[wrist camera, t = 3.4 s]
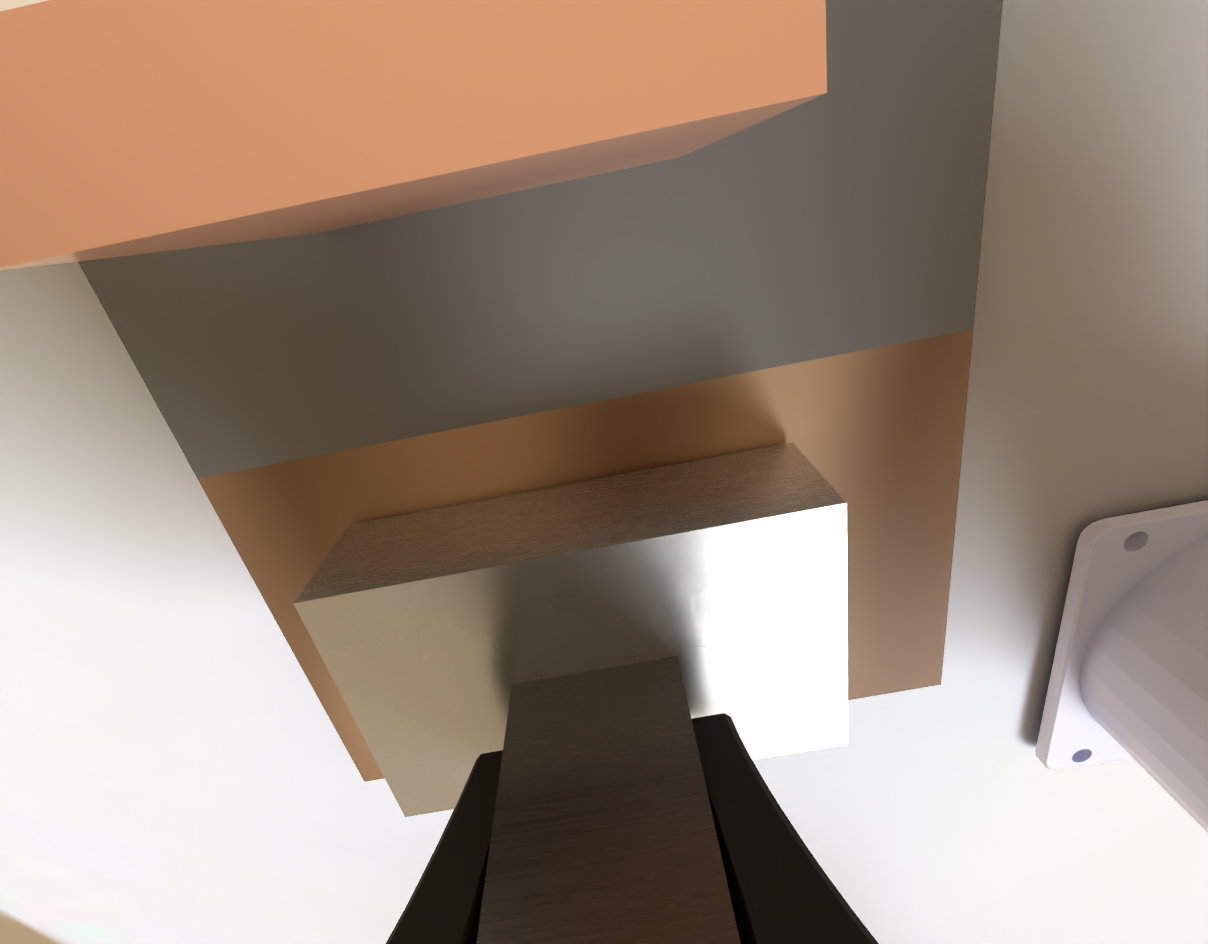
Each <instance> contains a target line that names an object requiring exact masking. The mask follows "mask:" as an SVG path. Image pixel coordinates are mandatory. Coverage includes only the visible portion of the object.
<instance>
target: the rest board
mask: <svg viewBox="0 0 1208 944" xmlns="http://www.w3.org/2000/svg"><path fill="white" fill-rule="evenodd" d="M972 334H973V329H970V330H965V331H960V332H954V333H949V334H944V335H939V336H934V337H929V338H923V339H918V340H913V341H908V342H903V343H898V344H892V345H887V346H882V347H877V348H872V349H866V350H861V351H856V352H851V353H846V354H841V355H835V356H830V357H825V358H820V359H815V360H809V361H804V362H799V363H794V364H789V365H784V366H778V367H773V368H768V369H763V370H758V371H752V372H747V373H742V374H737V375H732V376H727V377H721V378H716V379H711V380H706V381H701V382H696V383H690V384H685V385H680V386H675V387H670V388H664V389H659V390H654V391H649V392H644V393H639V394H633V395H628V396H623V397H618V398H613V399H607V400H602V401H597V402H592V403H587V404H582V405H576V406H571V407H566V408H561V409H556V410H550V411H545V412H540V413H535V414H530V415H525V416H519V417H514V418H509V419H504V420H499V421H494V422H488V423H483V424H478V425H473V426H468V427H462V428H457V429H452V430H447V431H442V432H437V433H431V434H426V435H421V436H416V437H411V438H405V439H400V440H395V441H390V442H385V443H380V444H374V445H369V446H364V447H359V448H354V449H348V450H343V451H338V452H333V453H328V454H323V455H317V456H312V457H307V458H302V459H297V460H292V461H286V462H281V463H276V464H271V465H266V466H260V467H255V468H250V469H245V470H240V471H235V472H229V473H224V474H219V475H214V476H209V477H203V478H198V480H199V482H200V484H201V486H202V487H203V489H204V491H205V493H206V495H207V496H208V498H209V500H210V502H211V504H212V506H213V507H214V509H215V511H216V513H217V515H218V516H219V518H220V520H221V522H222V524H223V525H224V527H225V529H226V531H227V533H228V535H229V536H230V538H231V540H232V542H233V544H234V545H235V547H236V549H237V551H238V553H239V555H240V556H241V558H242V560H243V562H244V564H245V565H246V567H247V569H248V571H249V573H250V575H251V576H252V578H253V580H254V582H255V584H256V585H257V587H258V589H259V591H260V593H261V594H262V596H263V598H264V600H265V602H266V604H267V605H268V607H269V609H270V611H271V613H272V614H273V616H274V618H275V620H276V622H277V624H278V625H279V627H280V629H281V631H282V633H283V634H284V636H285V638H286V640H287V642H288V643H289V645H290V647H291V649H292V651H293V653H294V654H295V656H296V658H297V660H298V662H299V663H300V665H301V667H302V669H303V671H304V673H305V674H306V676H307V678H308V680H309V682H310V683H311V685H312V687H313V689H314V691H315V692H316V694H317V696H318V698H319V700H320V702H321V703H322V705H323V707H324V709H325V711H326V712H327V714H328V716H329V718H330V720H331V722H332V723H333V725H334V727H335V729H336V731H337V732H338V734H339V736H340V738H341V740H342V741H343V743H344V745H345V747H346V749H347V751H348V752H349V754H350V756H351V758H352V760H353V761H354V763H355V765H356V767H357V769H358V771H359V772H360V774H361V776H362V778H363V780H364V781H371V780H377V779H383V778H385V777H384V775H383V773H382V771H381V770H380V768H379V766H378V764H377V762H376V760H375V758H374V756H373V754H372V752H371V751H370V749H369V747H368V745H367V743H366V741H365V739H364V737H363V735H362V733H361V731H360V730H359V728H358V726H357V724H356V722H355V720H354V718H353V716H352V714H351V712H350V711H349V709H348V707H347V705H346V703H345V701H344V699H343V697H342V695H341V693H340V692H339V690H338V688H337V686H336V684H335V682H334V680H333V678H332V676H331V674H330V672H329V671H328V669H327V667H326V665H325V663H324V661H323V659H322V657H321V655H320V653H319V652H318V650H317V648H316V646H315V644H314V642H313V640H312V638H311V636H310V634H309V633H308V631H307V629H306V627H305V625H304V623H303V621H302V619H301V617H300V615H299V613H298V612H297V610H296V608H295V606H294V604H293V603H294V602H295V600H296V599H297V597H298V596H299V595H300V593H301V592H302V590H303V589H304V588H305V586H306V585H307V583H308V582H309V581H310V579H311V578H312V576H313V575H314V574H315V572H316V571H317V569H318V568H319V566H320V565H321V564H322V562H323V561H324V559H325V558H326V557H327V555H328V554H329V552H330V551H331V550H332V548H333V547H334V545H335V544H336V543H337V541H338V540H339V538H340V537H341V536H342V534H343V533H344V531H345V530H346V528H347V527H348V526H349V525H353V524H358V523H363V522H369V521H374V520H379V519H385V518H390V517H395V516H401V515H406V514H411V513H417V512H422V511H428V510H433V509H438V508H444V507H449V506H454V505H460V504H465V503H470V502H476V501H481V500H486V499H492V498H497V497H502V496H508V495H513V494H519V493H524V492H529V491H535V490H540V489H545V488H551V487H556V486H561V485H567V484H572V483H577V482H583V481H588V480H593V479H599V478H604V477H610V476H615V475H620V474H626V473H631V472H636V471H642V470H647V469H652V468H658V467H663V466H668V465H674V464H679V463H684V462H690V461H695V460H701V459H706V458H711V457H717V456H722V455H727V454H733V453H738V452H743V451H749V450H754V449H759V448H765V447H770V446H775V445H781V444H786V443H792V442H793V443H794V444H795V446H796V447H797V448H798V449H799V450H800V451H801V452H802V453H803V455H804V456H805V457H806V458H807V459H808V460H809V461H810V462H811V463H812V465H813V466H814V467H815V468H816V469H817V470H818V471H819V472H820V474H821V475H822V476H823V477H824V478H825V479H826V480H827V481H828V483H829V484H830V485H831V486H832V487H833V488H834V489H835V490H836V491H837V493H838V494H839V495H840V496H841V497H842V498H843V499H844V500H845V502H846V503H847V651H848V700H851V699H857V698H863V697H869V696H875V695H881V694H887V693H893V692H899V691H905V690H910V689H916V688H922V687H928V686H934V685H940V684H941V677H942V666H943V655H944V644H945V633H946V622H947V611H948V600H949V588H950V577H951V566H952V555H953V544H954V533H955V522H956V511H957V500H958V489H959V478H960V467H961V456H962V445H963V434H964V423H965V412H966V401H967V389H968V378H969V367H970V356H971V345H972Z"/></svg>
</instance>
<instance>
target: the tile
mask: <svg viewBox="0 0 1208 944" xmlns="http://www.w3.org/2000/svg"><path fill="white" fill-rule="evenodd" d="M826 93H827V63H826V0H0V271H2V270H11V269H19V268H27V267H36V266H44V265H53V264H61V263H69V262H78V261H86V260H95V259H103V258H111V257H120V256H128V255H137V254H145V253H153V252H162V251H170V250H179V249H187V248H195V247H204V246H212V245H221V244H229V243H238V242H246V241H254V240H263V239H271V238H280V237H288V236H296V235H305V234H313V233H320V232H325V231H330V230H335V229H340V228H344V227H349V226H354V225H359V224H363V223H368V222H373V221H378V220H383V219H387V218H392V217H397V216H402V215H406V214H411V213H416V212H421V211H426V210H430V209H435V208H440V207H445V206H449V205H454V204H459V203H464V202H469V201H473V200H478V199H483V198H488V197H492V196H497V195H502V194H507V193H511V192H516V191H521V190H526V189H531V188H535V187H540V186H545V185H550V184H554V183H559V182H564V181H569V180H574V179H578V178H583V177H588V176H593V175H597V174H602V173H607V172H612V171H617V170H621V169H626V168H631V167H636V166H640V165H645V164H650V163H655V162H660V161H664V160H669V159H674V158H679V157H681V156H684V155H686V154H688V153H690V152H693V151H695V150H697V149H700V148H702V147H704V146H706V145H709V144H711V143H713V142H716V141H718V140H720V139H723V138H725V137H727V136H729V135H732V134H734V133H736V132H739V131H741V130H743V129H745V128H748V127H750V126H752V125H755V124H757V123H759V122H761V121H764V120H766V119H768V118H771V117H773V116H775V115H777V114H780V113H782V112H784V111H787V110H789V109H791V108H793V107H796V106H798V105H800V104H803V103H805V102H807V101H809V100H812V99H814V98H816V97H819V96H821V95H823V94H826Z"/></svg>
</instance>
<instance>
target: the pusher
mask: <svg viewBox="0 0 1208 944" xmlns="http://www.w3.org/2000/svg"><path fill="white" fill-rule="evenodd" d="M293 604H294V606H295V608H296V610H297V612H298V613H299V615H300V617H301V619H302V621H303V623H304V625H305V627H306V629H307V631H308V633H309V634H310V636H311V638H312V640H313V642H314V644H315V646H316V648H317V650H318V652H319V653H320V655H321V657H322V659H323V661H324V663H325V665H326V667H327V669H328V671H329V672H330V674H331V676H332V678H333V680H334V682H335V684H336V686H337V688H338V690H339V692H340V693H341V695H342V697H343V699H344V701H345V703H346V705H347V707H348V709H349V711H350V712H351V714H352V716H353V718H354V720H355V722H356V724H357V726H358V728H359V730H360V731H361V733H362V735H363V737H364V739H365V741H366V743H367V745H368V747H369V749H370V751H371V752H372V754H373V756H374V758H375V760H376V762H377V764H378V766H379V768H380V770H381V771H382V773H383V775H384V777H385V779H386V781H387V783H388V785H389V787H390V789H391V791H392V792H393V794H394V796H395V798H396V800H397V802H398V804H399V806H400V808H401V810H402V811H403V813H404V815H405V817H407V816H414V815H420V814H426V813H432V812H438V811H444V810H450V809H455V807H456V804H457V802H458V800H459V798H460V796H461V793H462V791H463V789H464V787H465V784H466V782H467V780H468V777H469V775H470V773H471V771H472V768H473V766H474V764H475V761H476V759H477V758H478V757H479V756H480V754H483V753H489V752H495V751H501V750H503V753H502V761H501V768H500V775H499V783H498V790H497V797H496V804H495V812H494V819H493V826H492V834H491V841H490V848H489V855H488V863H487V870H486V877H485V884H484V892H483V899H482V906H481V914H480V921H479V928H478V935H477V943H476V944H741V943H740V939H739V934H738V930H737V925H736V920H735V916H734V911H733V907H732V902H731V898H730V893H729V889H728V884H727V879H726V875H725V870H724V866H723V861H722V857H721V852H720V847H719V843H718V838H717V834H716V829H715V825H714V820H713V815H712V811H711V806H710V802H709V797H708V793H707V788H706V783H705V779H704V774H703V770H702V765H701V761H700V756H699V752H698V747H697V742H696V738H695V733H694V729H693V724H692V720H691V719H692V718H698V717H704V716H710V715H716V714H722V713H725V714H727V715H729V716H730V717H731V718H732V720H733V723H734V725H735V727H736V730H737V732H738V734H739V736H740V738H741V740H742V742H743V744H744V746H745V748H746V750H747V752H748V754H749V755H750V757H751V759H752V760H756V759H762V758H768V757H774V756H780V755H786V754H792V753H798V752H804V751H811V750H817V749H823V748H829V747H835V746H841V745H847V744H848V651H847V503H846V502H845V500H844V499H843V498H842V497H841V496H840V495H839V494H838V493H837V491H836V490H835V489H834V488H833V487H832V486H831V485H830V484H829V483H828V481H827V480H826V479H825V478H824V477H823V476H822V475H821V474H820V472H819V471H818V470H817V469H816V468H815V467H814V466H813V465H812V463H811V462H810V461H809V460H808V459H807V458H806V457H805V456H804V455H803V453H802V452H801V451H800V450H799V449H798V448H797V447H796V446H795V444H794V443H793V442H792V443H786V444H781V445H775V446H770V447H765V448H759V449H754V450H749V451H743V452H738V453H733V454H727V455H722V456H717V457H711V458H706V459H701V460H695V461H690V462H684V463H679V464H674V465H668V466H663V467H658V468H652V469H647V470H642V471H636V472H631V473H626V474H620V475H615V476H610V477H604V478H599V479H593V480H588V481H583V482H577V483H572V484H567V485H561V486H556V487H551V488H545V489H540V490H535V491H529V492H524V493H519V494H513V495H508V496H502V497H497V498H492V499H486V500H481V501H476V502H470V503H465V504H460V505H454V506H449V507H444V508H438V509H433V510H428V511H422V512H417V513H411V514H406V515H401V516H395V517H390V518H385V519H379V520H374V521H369V522H363V523H358V524H353V525H349V526H348V527H347V528H346V530H345V531H344V533H343V534H342V536H341V537H340V538H339V540H338V541H337V543H336V544H335V545H334V547H333V548H332V550H331V551H330V552H329V554H328V555H327V557H326V558H325V559H324V561H323V562H322V564H321V565H320V566H319V568H318V569H317V571H316V572H315V574H314V575H313V576H312V578H311V579H310V581H309V582H308V583H307V585H306V586H305V588H304V589H303V590H302V592H301V593H300V595H299V596H298V597H297V599H296V600H295V602H294V603H293Z"/></svg>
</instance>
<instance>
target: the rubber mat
mask: <svg viewBox="0 0 1208 944" xmlns="http://www.w3.org/2000/svg"><path fill="white" fill-rule="evenodd" d="M1002 2H1003V0H826V63H827V93H826V94H823V95H821V96H819V97H816V98H814V99H812V100H809V101H807V102H805V103H803V104H800V105H798V106H796V107H793V108H791V109H789V110H787V111H784V112H782V113H780V114H777V115H775V116H773V117H771V118H768V119H766V120H764V121H761V122H759V123H757V124H755V125H752V126H750V127H748V128H745V129H743V130H741V131H739V132H736V133H734V134H732V135H729V136H727V137H725V138H723V139H720V140H718V141H716V142H713V143H711V144H709V145H706V146H704V147H702V148H700V149H697V150H695V151H693V152H690V153H688V154H686V155H684V156H681V157H679V158H674V159H669V160H664V161H660V162H655V163H650V164H645V165H640V166H636V167H631V168H626V169H621V170H617V171H612V172H607V173H602V174H597V175H593V176H588V177H583V178H578V179H574V180H569V181H564V182H559V183H554V184H550V185H545V186H540V187H535V188H531V189H526V190H521V191H516V192H511V193H507V194H502V195H497V196H492V197H488V198H483V199H478V200H473V201H469V202H464V203H459V204H454V205H449V206H445V207H440V208H435V209H430V210H426V211H421V212H416V213H411V214H406V215H402V216H397V217H392V218H387V219H383V220H378V221H373V222H368V223H363V224H359V225H354V226H349V227H344V228H340V229H335V230H330V231H325V232H320V233H313V234H305V235H296V236H288V237H280V238H271V239H263V240H254V241H246V242H238V243H229V244H221V245H212V246H204V247H195V248H187V249H179V250H170V251H162V252H153V253H145V254H137V255H128V256H120V257H111V258H103V259H95V260H86V261H78V262H79V264H80V266H81V268H82V270H83V271H84V273H85V275H86V277H87V279H88V280H89V282H90V284H91V286H92V288H93V290H94V291H95V293H96V295H97V297H98V299H99V300H100V302H101V304H102V306H103V308H104V309H105V311H106V313H107V315H108V317H109V319H110V320H111V322H112V324H113V326H114V328H115V329H116V331H117V333H118V335H119V337H120V339H121V340H122V342H123V344H124V346H125V348H126V349H127V351H128V353H129V355H130V357H131V359H132V360H133V362H134V364H135V366H136V368H137V369H138V371H139V373H140V375H141V377H142V378H143V380H144V382H145V384H146V386H147V388H148V389H149V391H150V393H151V395H152V397H153V398H154V400H155V402H156V404H157V406H158V408H159V409H160V411H161V413H162V415H163V417H164V418H165V420H166V422H167V424H168V426H169V427H170V429H171V431H172V433H173V435H174V437H175V438H176V440H177V442H178V444H179V446H180V447H181V449H182V451H183V453H184V455H185V457H186V458H187V460H188V462H189V464H190V466H191V467H192V469H193V471H194V473H195V475H196V476H197V478H203V477H209V476H214V475H219V474H224V473H229V472H235V471H240V470H245V469H250V468H255V467H260V466H266V465H271V464H276V463H281V462H286V461H292V460H297V459H302V458H307V457H312V456H317V455H323V454H328V453H333V452H338V451H343V450H348V449H354V448H359V447H364V446H369V445H374V444H380V443H385V442H390V441H395V440H400V439H405V438H411V437H416V436H421V435H426V434H431V433H437V432H442V431H447V430H452V429H457V428H462V427H468V426H473V425H478V424H483V423H488V422H494V421H499V420H504V419H509V418H514V417H519V416H525V415H530V414H535V413H540V412H545V411H550V410H556V409H561V408H566V407H571V406H576V405H582V404H587V403H592V402H597V401H602V400H607V399H613V398H618V397H623V396H628V395H633V394H639V393H644V392H649V391H654V390H659V389H664V388H670V387H675V386H680V385H685V384H690V383H696V382H701V381H706V380H711V379H716V378H721V377H727V376H732V375H737V374H742V373H747V372H752V371H758V370H763V369H768V368H773V367H778V366H784V365H789V364H794V363H799V362H804V361H809V360H815V359H820V358H825V357H830V356H835V355H841V354H846V353H851V352H856V351H861V350H866V349H872V348H877V347H882V346H887V345H892V344H898V343H903V342H908V341H913V340H918V339H923V338H929V337H934V336H939V335H944V334H949V333H954V332H960V331H965V330H970V329H973V323H974V312H975V301H976V290H977V279H978V268H979V257H980V246H981V235H982V224H983V213H984V201H985V190H986V179H987V168H988V157H989V146H990V135H991V124H992V113H993V102H994V91H995V80H996V69H997V58H998V47H999V36H1000V25H1001V14H1002Z"/></svg>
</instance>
